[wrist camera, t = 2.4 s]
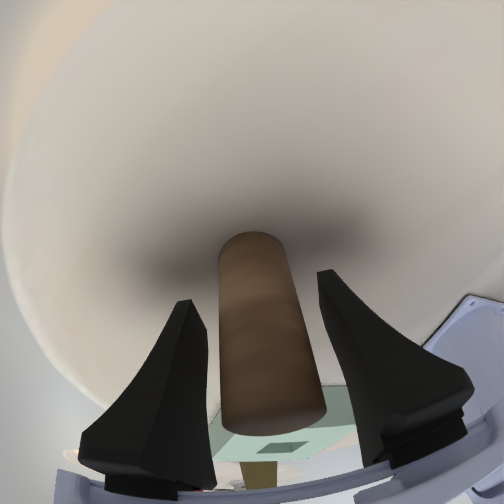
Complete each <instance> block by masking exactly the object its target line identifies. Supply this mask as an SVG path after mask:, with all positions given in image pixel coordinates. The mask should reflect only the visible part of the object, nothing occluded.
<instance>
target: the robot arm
mask: <svg viewBox="0 0 504 504" xmlns="http://www.w3.org/2000/svg"><path fill="white" fill-rule="evenodd" d="M317 280H318V292H319V305H320V310H321V314H322V317H323V321H324V325H325V328H326V331H327V333H328V336H329V338H330V341H331V343H332V346H333V349H334V351H335V354H336V356H337V359H338V361H339V364H340V366H341V369H342V372H343V375H344V378H345V381H346V385H347V389H348V393H349V397H350V401H351V405H352V409H353V414H354V418H355V423H356V428H357V433H358V438H359V444H360V449H361V455H362V462H363V466H364V468H363V469H359V470H356V471H352V472H349V473H345V474H341V475H337V476H333V477H328V478H324V479H320V480H315V481H310V482H305V483H299V484H293V485H287V486H280V487H272V488H264V489H254V490H241V491H221V492H194V491H202V490H212V489H214V488H215V487H216V485H217V481H216V476H215V471H214V466H213V460H212V454H211V447H210V440H209V431H208V422H207V409H206V390H207V370H208V339H207V329H206V327H205V325H204V323H203V322H202V320H201V318H200V316H199V314H198V312H197V310H196V308H195V306H194V304H193V302H192V300H191V299H189V300H183V301H178V302H177V303H176V305H175V307H174V309H173V311H172V313H171V315H170V317H169V319H168V321H167V323H166V325H165V327H164V329H163V331H162V332H161V334H160V336H159V338H158V340H157V342H156V344H155V345H154V347H153V349H152V351H151V352H150V354H149V356H148V357H147V359H146V361H145V362H144V364H143V366H142V367H141V369H140V370H139V372H138V373H137V375H136V376H135V377H134V379H133V380H132V382H131V383H130V384H129V385H128V387H127V388H126V389H125V390H124V392H123V393H122V394H121V395H120V396H119V398H118V399H117V400H116V401H115V402H114V403H113V404H112V405H111V407H110V408H109V409H108V410H107V411H106V412H105V413H104V414H103V415H102V416H101V417H100V418H98V419H97V420H96V421H95V422H94V423H93V424H92V425H90V426H89V427H88V428H87V429H86V430H85V431H83V432H82V435H81V441H80V447H79V453H78V461H79V462H80V463H81V464H82V465H84V466H86V467H88V468H90V469H93V470H95V471H97V472H100V473H102V474H105V482H100V481H95V480H91V479H88V478H87V477H85V476H82V475H79V474H76V473H73V472H69V471H65V470H61V469H58V470H57V477H56V484H55V494H54V504H278V503H285V502H292V501H298V500H304V499H309V498H315V497H320V496H325V495H329V494H333V493H338V492H342V491H345V490H349V489H352V488H357V487H360V486H363V485H367V484H370V483H373V482H376V481H379V480H382V479H385V478H388V477H391V476H393V475H394V476H393V477H392V478H391V480H390V481H388V482H385V483H382V484H379V485H377V486H374V487H371V488H368V489H365V490H362V491H359V492H358V493H357V494H355V495H354V496H353V497H354V502H355V504H446V503H448V502H449V501H451V500H453V499H454V498H456V497H458V496H460V495H461V494H463V493H464V492H466V493H467V494H468V496H469V497H470V499H471V500H472V502H473V504H504V303H500V302H496V301H492V300H488V299H484V298H480V297H475V296H471V295H470V296H467V297H466V298H465V299H464V300H463V302H462V303H461V304H460V305H459V307H458V308H457V309H456V310H455V311H454V313H453V314H452V315H451V316H450V317H449V319H448V320H447V321H446V322H445V323H444V324H443V326H442V327H441V328H440V329H439V330H438V331H437V332H436V333H435V335H434V336H433V337H432V338H431V339H430V340H429V341H428V342H427V343H426V344H425V345H424V346H423V347H421V346H419V345H417V344H416V343H414V342H412V341H411V340H409V339H408V338H406V337H405V336H403V335H402V334H401V333H399V332H398V331H396V330H395V329H394V328H392V327H391V326H390V325H389V324H387V323H386V322H385V321H384V320H382V319H381V318H380V317H379V316H378V315H377V314H376V313H374V312H373V311H372V310H371V309H370V308H369V307H368V306H367V305H366V304H365V303H364V302H363V301H362V300H361V299H360V298H359V297H358V296H357V295H356V294H355V293H354V292H353V291H352V290H351V289H350V288H349V287H348V286H347V285H346V284H345V283H344V282H343V281H342V279H341V278H340V277H339V276H338V275H337V273H336V272H335V271H334V270H332V269H329V270H325V271H321V272H317Z"/></svg>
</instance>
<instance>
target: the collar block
mask: <svg viewBox="0 0 504 504" xmlns="http://www.w3.org/2000/svg"><path fill="white" fill-rule="evenodd" d="M322 390H323V394H324V398H325V402H326V406H327V413H326V414H325V416H324V417H323V418H322V419H321V420H319V421H318V422H316V423H315V424H313V425H311V426H309V427H306V428H304V429H301V430H298V431H295V432H291V433H287V434H282V435H275V436H260V437H257V436H244V435H239V434H235V433H232V432H229V431H227V430H226V429H225V428H224V427H223V426H222V421H221V409H220V411H219V412H218V414H217V416H216V417H215V419H214V420H213V422H212V424H211V425H210V427H209V436H210V447H211V454H212V460H213V461H240V462H257V461H284V460H299V459H308V458H310V457H311V456H313V455H315V454H317V453H319V452H320V451H322V450H324V449H325V448H327V447H329V446H330V445H332V444H334V443H335V442H337V441H339V440H340V439H342V438H343V437H345V436H346V435H348V434H349V433H351V432H353V431H354V430H355V429H357V428H356V423H355V418H354V414H353V409H352V405H351V401H350V397H349V393H348V389H347V386H322Z"/></svg>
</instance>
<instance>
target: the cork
mask: <svg viewBox="0 0 504 504" xmlns="http://www.w3.org/2000/svg"><path fill="white" fill-rule="evenodd" d="M239 462H240V461H239ZM240 467H241V471H242V475H243V479H244V484H245V488H246V490H254V489H264V488H272V487H277V461H257V462H240ZM278 504H280V503H278Z"/></svg>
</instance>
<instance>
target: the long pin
mask: <svg viewBox="0 0 504 504" xmlns="http://www.w3.org/2000/svg"><path fill="white" fill-rule="evenodd" d="M219 356H220V394H221V421H222V426H223V427H224V428H225V429H226V430H227V431H229V432H232V433H235V434H239V435H244V436H257V437H260V436H275V435H282V434H287V433H291V432H295V431H298V430H301V429H304V428H306V427H309V426H311V425H313V424H315V423H316V422H318V421H319V420H321V419H322V418H323V417H324V416H325V414H326V413H327V406H326V402H325V398H324V394H323V390H322V386H321V382H320V378H319V375H318V371H317V367H316V363H315V359H314V355H313V352H312V348H311V344H310V340H309V337H308V333H307V329H306V325H305V322H304V318H303V315H302V311H301V307H300V304H299V300H298V297H297V293H296V289H295V286H294V282H293V279H292V275H291V272H290V269H289V265H288V262H287V258H286V255H285V251H284V249H283V246H282V245H281V243H280V242H279V241H278V240H277V239H275V238H274V237H272V236H271V235H268V234H265V233H261V232H247V233H243V234H240V235H237V236H235V237H233V238H232V239H230V240H229V241H228V242H227V243H226V244H225V245H224V246H223V248H222V250H221V252H220V255H219Z"/></svg>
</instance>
